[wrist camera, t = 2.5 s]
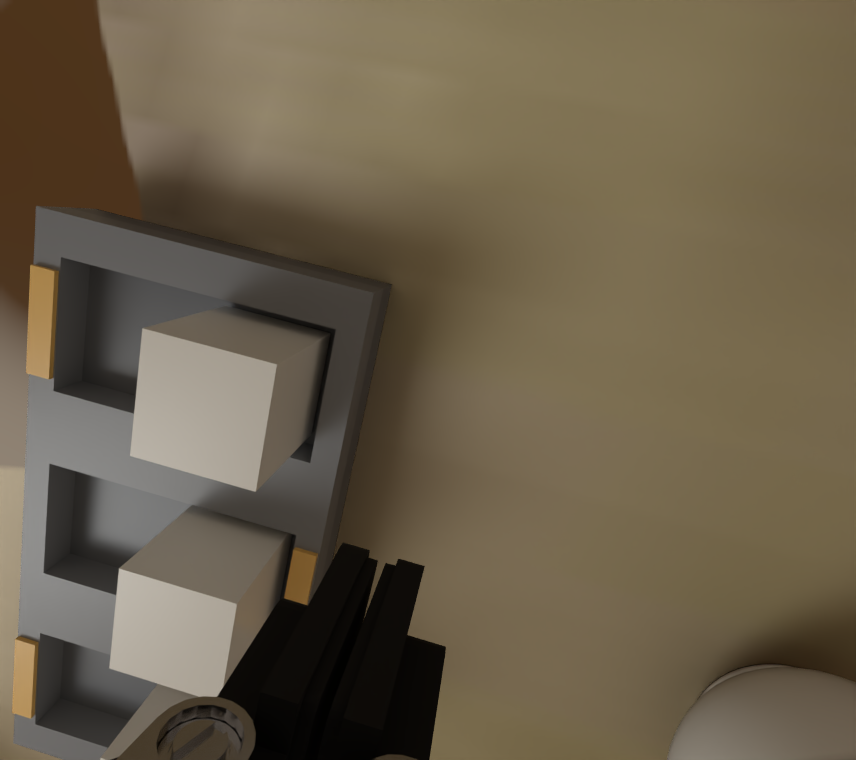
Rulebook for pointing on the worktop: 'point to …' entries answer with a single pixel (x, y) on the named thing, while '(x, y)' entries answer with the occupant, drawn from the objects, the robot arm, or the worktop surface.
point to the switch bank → (142, 480)
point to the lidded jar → (770, 717)
